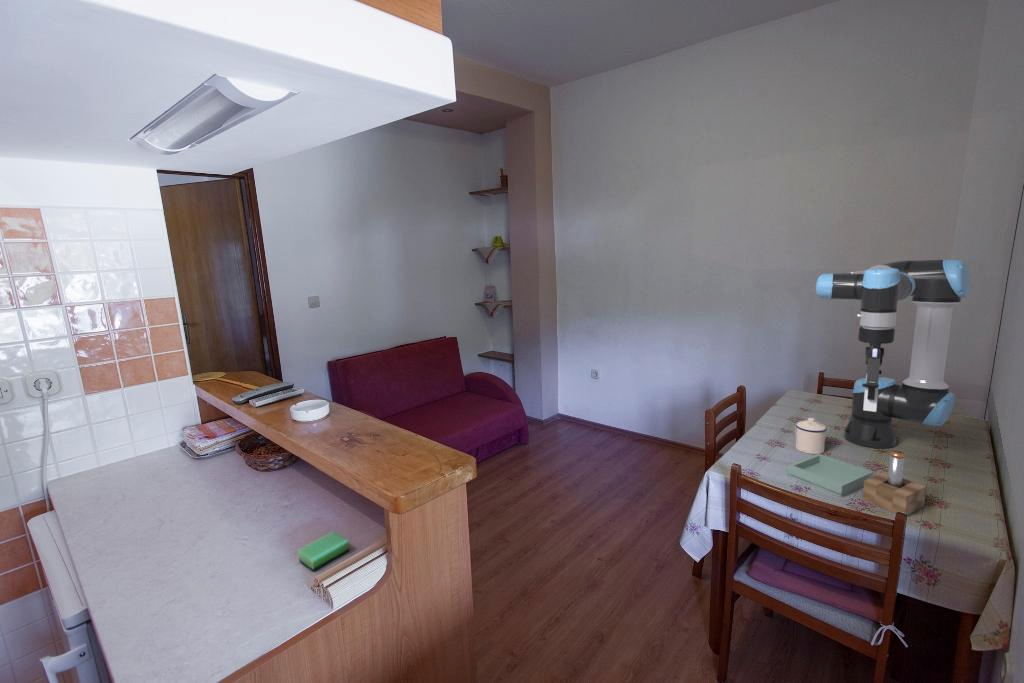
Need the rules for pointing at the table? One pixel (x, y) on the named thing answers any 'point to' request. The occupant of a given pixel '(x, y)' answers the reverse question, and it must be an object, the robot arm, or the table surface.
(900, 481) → the pin
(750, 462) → the table surface
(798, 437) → the teacup with lid
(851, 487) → the tray
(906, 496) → the block
